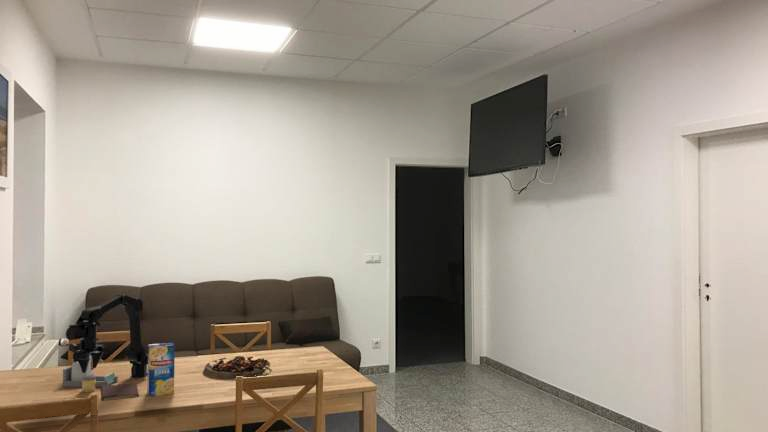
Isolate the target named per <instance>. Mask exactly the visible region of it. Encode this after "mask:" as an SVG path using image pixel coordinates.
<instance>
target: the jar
mask: <svg viewBox="0 0 768 432" xmlns="http://www.w3.org/2000/svg"><path fill="white" fill-rule="evenodd" d="M96 376H97V375H94V374H93V375H89V376H84V377H82V387H81V389H82V393H92V392H95V391H96V389H97V387H96Z"/></svg>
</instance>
